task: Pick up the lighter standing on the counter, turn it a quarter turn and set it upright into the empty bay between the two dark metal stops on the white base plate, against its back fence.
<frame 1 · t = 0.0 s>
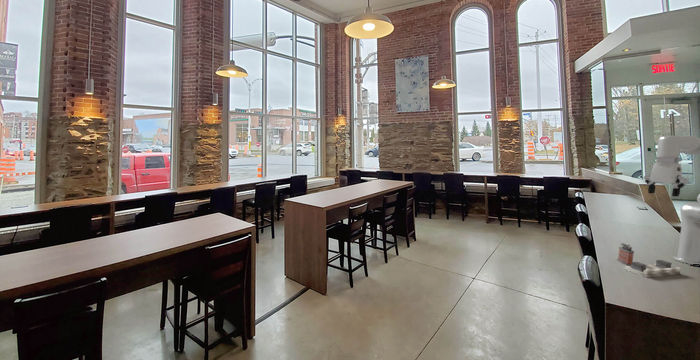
hand: (662, 194, 143), 37 cm above the table, tool pointing down, fingers open, 9 cm apart
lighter: (624, 263, 148), on the table
white base plate: (651, 271, 138), on the table
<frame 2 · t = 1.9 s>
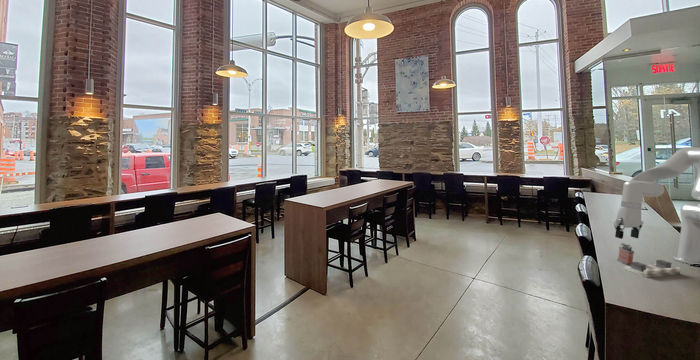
hand: (626, 237, 147), 14 cm above the table, tool pointing down, fingers open, 9 cm apart
nothing on the table moved.
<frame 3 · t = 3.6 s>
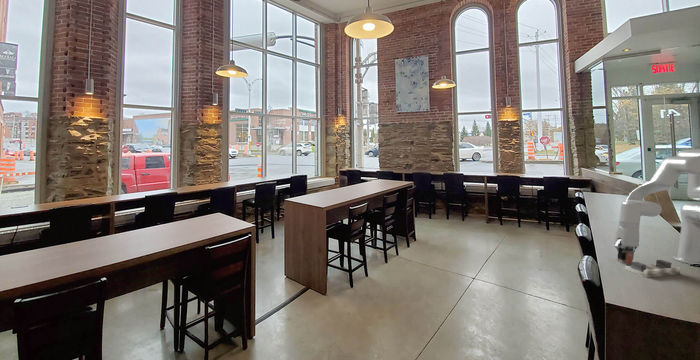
hand: (625, 258, 148), 2 cm above the table, tool pointing down, fingers closed on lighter, 4 cm apart
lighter: (624, 263, 149), on the table, touching gripper
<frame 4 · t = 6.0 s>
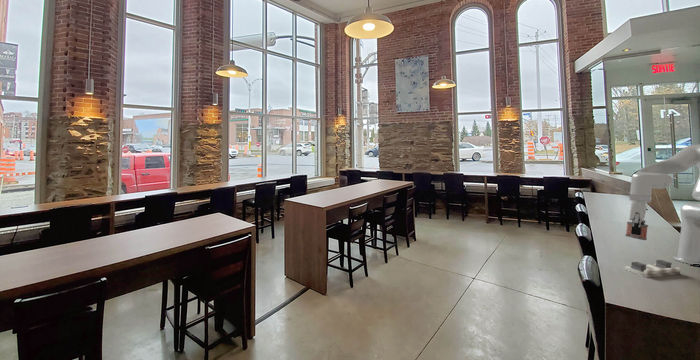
hand: (636, 233, 144), 17 cm above the table, tool pointing down, fingers closed on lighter, 4 cm apart
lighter: (635, 238, 144), point 14 cm above the table, touching gripper
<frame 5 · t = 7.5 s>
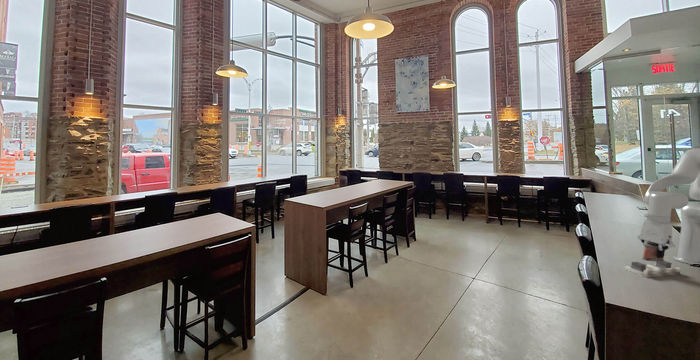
hand: (653, 255, 137), 8 cm above the table, tool pointing down, fingers closed on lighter, 4 cm apart
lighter: (652, 260, 137), point 6 cm above the table, touching gripper
when the fingers open (5 cm above the table, at t = 8.5 s): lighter drops 1 cm, resting on white base plate.
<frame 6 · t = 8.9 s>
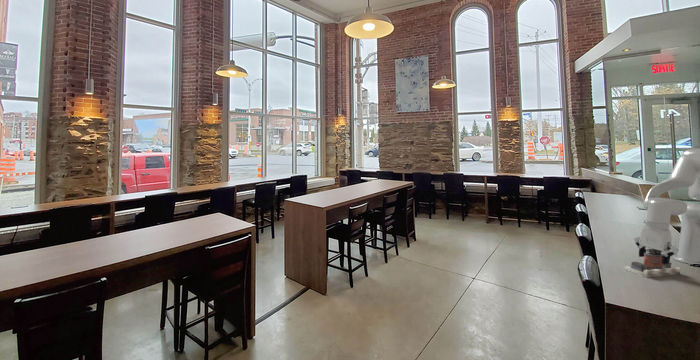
hand: (653, 260, 137), 6 cm above the table, tool pointing down, fingers open, 8 cm apart
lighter: (652, 269, 138), point 1 cm above the table, touching white base plate
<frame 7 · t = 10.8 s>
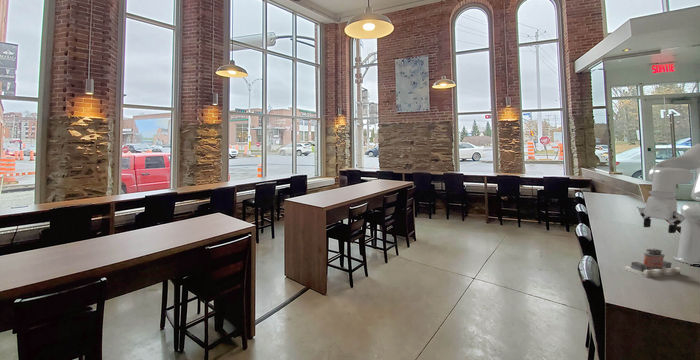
hand: (658, 229, 136), 21 cm above the table, tool pointing down, fingers open, 9 cm apart
nothing on the table moved.
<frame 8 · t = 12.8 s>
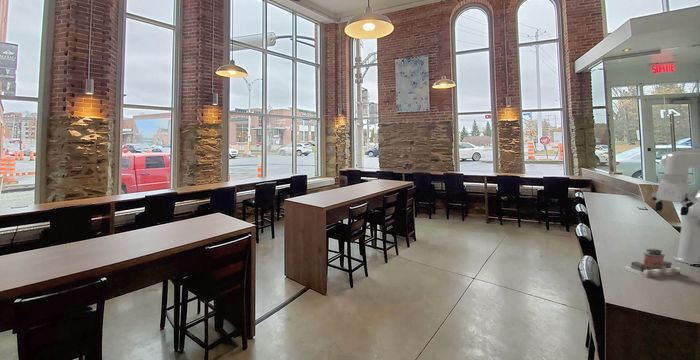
hand: (670, 212, 140), 28 cm above the table, tool pointing down, fingers open, 9 cm apart
nothing on the table moved.
at the end: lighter 0.2 cm off-centre on the white base plate, point 1.3 cm above the white base plate's base; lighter tilted 0°; the gripper is holding nothing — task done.
